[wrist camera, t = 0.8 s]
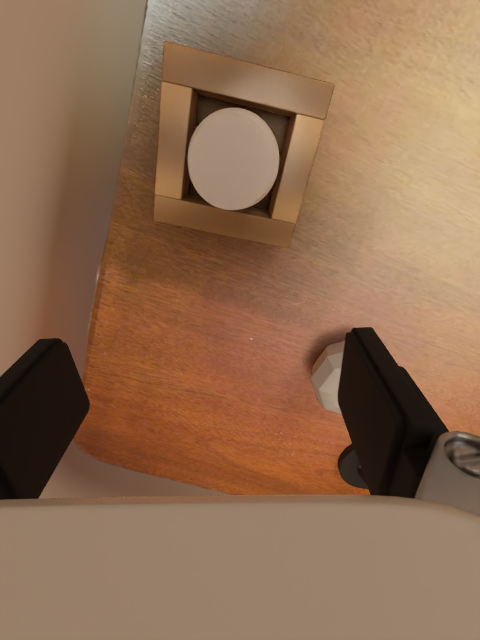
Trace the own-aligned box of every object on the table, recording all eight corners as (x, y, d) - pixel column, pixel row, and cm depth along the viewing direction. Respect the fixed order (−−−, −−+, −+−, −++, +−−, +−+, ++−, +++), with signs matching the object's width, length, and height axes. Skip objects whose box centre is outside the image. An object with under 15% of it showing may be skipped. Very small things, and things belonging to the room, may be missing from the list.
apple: (329, 393, 38) (345, 438, 32) (289, 354, 35) (297, 395, 29) (389, 357, 35) (418, 399, 29) (350, 311, 32) (373, 347, 26)
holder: (174, 54, 22) (163, 40, 19) (323, 91, 23) (335, 83, 20) (162, 212, 28) (152, 221, 25) (284, 237, 29) (288, 248, 26)
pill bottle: (255, 100, 24) (261, 76, 15) (282, 176, 26) (301, 193, 17) (188, 137, 25) (158, 135, 16) (220, 206, 27) (209, 236, 19)
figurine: (422, 437, 41) (505, 573, 28) (400, 484, 46) (461, 618, 33) (346, 434, 41) (393, 570, 28) (331, 481, 46) (366, 615, 33)
